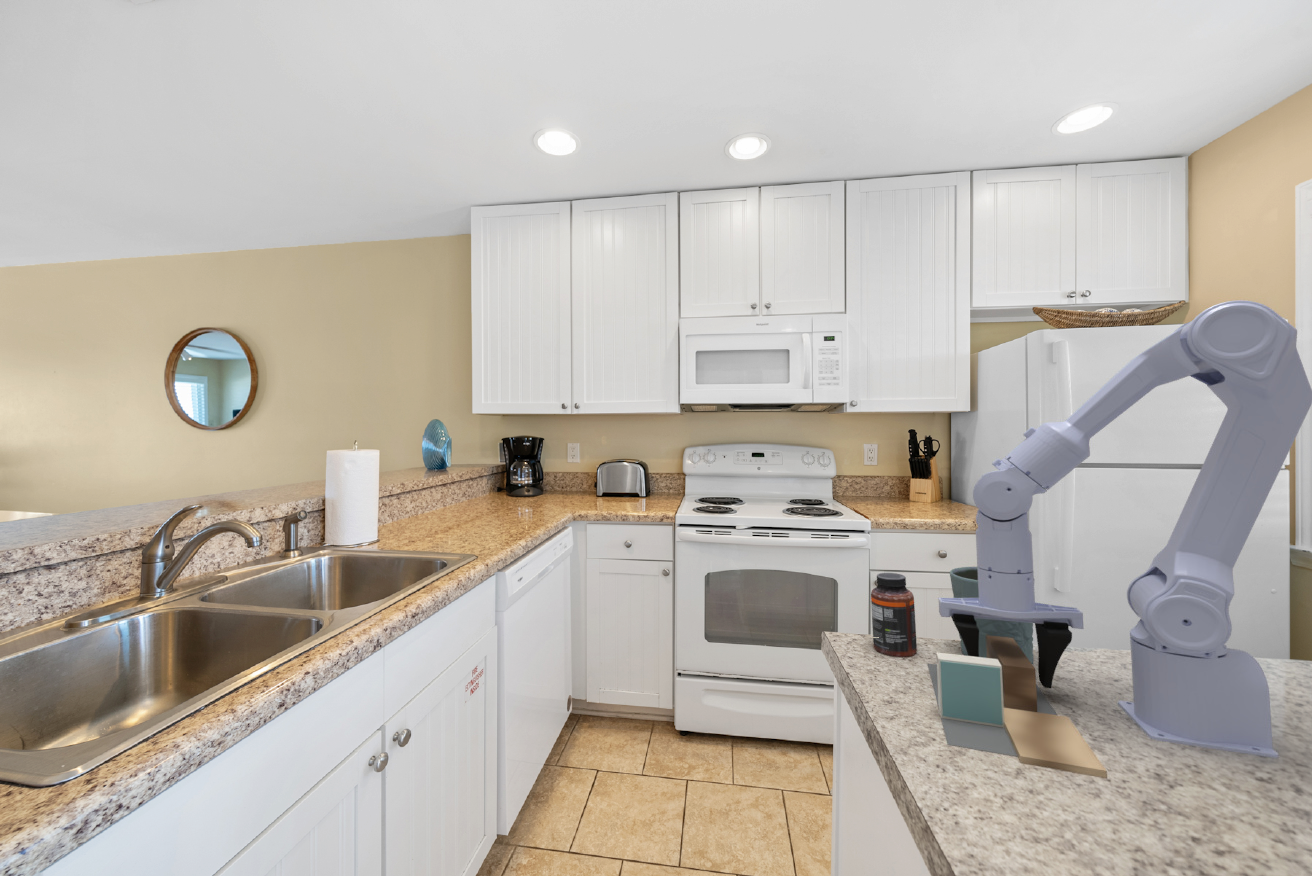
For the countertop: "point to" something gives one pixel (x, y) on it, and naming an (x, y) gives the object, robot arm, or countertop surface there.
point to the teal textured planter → (1021, 632)
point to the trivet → (1050, 742)
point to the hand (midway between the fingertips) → (1009, 680)
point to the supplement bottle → (893, 616)
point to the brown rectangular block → (1014, 673)
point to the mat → (982, 727)
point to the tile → (970, 689)
